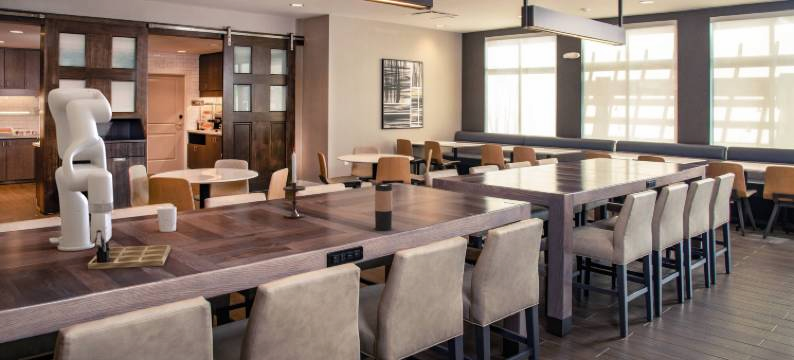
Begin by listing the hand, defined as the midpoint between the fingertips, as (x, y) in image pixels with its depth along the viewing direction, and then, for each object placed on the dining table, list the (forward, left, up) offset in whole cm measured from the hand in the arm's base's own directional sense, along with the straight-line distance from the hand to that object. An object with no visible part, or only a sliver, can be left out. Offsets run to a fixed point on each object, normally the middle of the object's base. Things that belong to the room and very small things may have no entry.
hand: (103, 260), depth 213 cm
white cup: (+15, +55, -2) cm, 57 cm away
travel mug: (+107, +40, -2) cm, 114 cm away
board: (+8, +7, -2) cm, 11 cm away
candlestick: (+71, +77, -2) cm, 105 cm away
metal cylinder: (0, 0, 0) cm, 0 cm away
